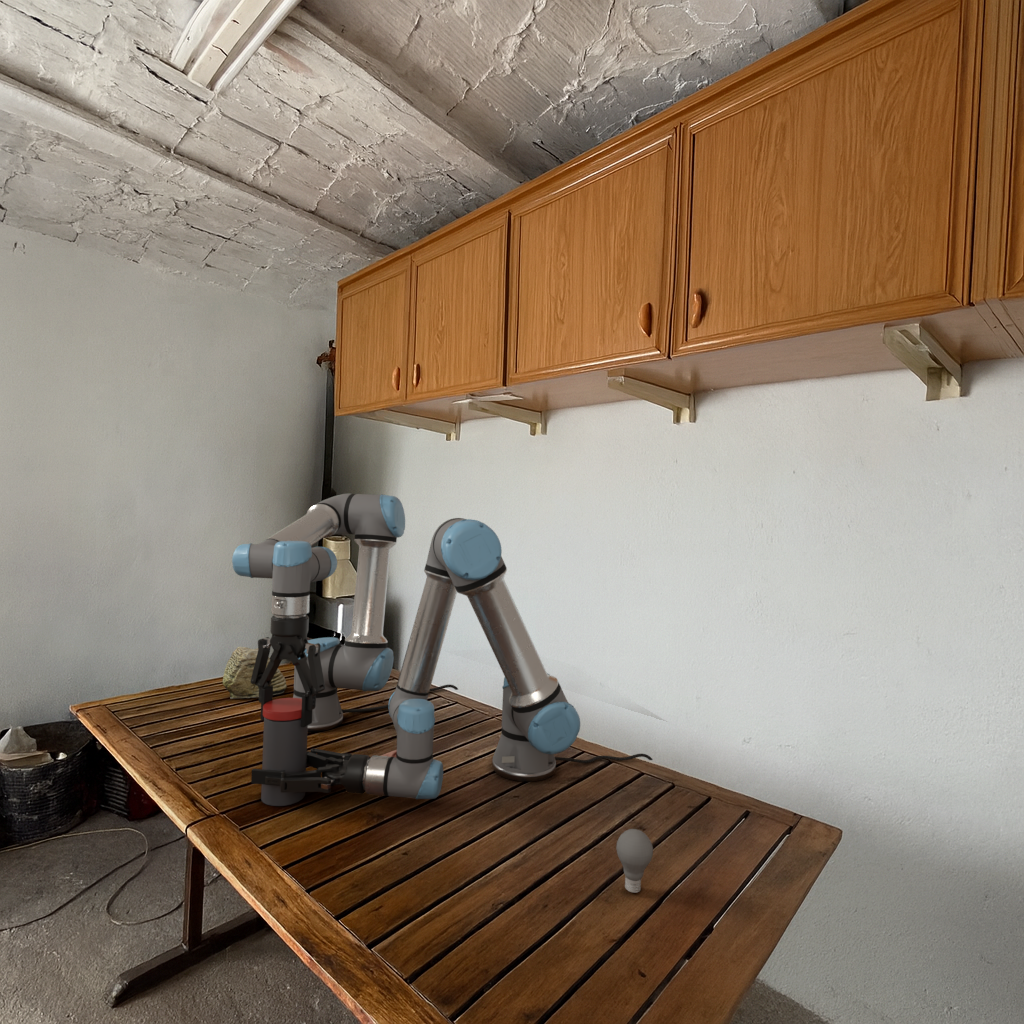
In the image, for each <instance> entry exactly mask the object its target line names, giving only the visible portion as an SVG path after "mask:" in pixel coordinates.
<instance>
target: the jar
mask: <svg viewBox="0 0 1024 1024" xmlns="http://www.w3.org/2000/svg"><path fill="white" fill-rule="evenodd" d="M308 733H309V732H308V725H307V726H306V727H301V718H299V719H295V720H287V721H276V720H270V719H266V718H265V717H264V720H263V734H262V736H263V737H262V762H261V763H262V764H261V765H262V766H261V769H264V770H276V771H283V770H285V774H286V773H295V772H304V771H307V767H306V759H307V752H308ZM260 789H261V792H260V793H261V794H260V795H261V796H260V800H261V802H262V803H263V804H265V805H267V806H272V807H284V806H285V807H286V806H290V805H293V804H296V803H298V802H300V801H302V800H303V799H304V798H305V796H306V792H280V786H277V785H265V784H261V788H260Z"/></svg>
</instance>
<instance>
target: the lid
mask: <svg viewBox="0 0 1024 1024" xmlns="http://www.w3.org/2000/svg"><path fill="white" fill-rule="evenodd" d="M301 712H302V699H300V698H293V697H283V698H276V699H273V700H272V701H269V702H267V703H265V704H264V705H263V716H264V717H265V718H266V719H270V720H276V721H287V720H295V719H299V718H301Z"/></svg>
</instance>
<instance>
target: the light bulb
mask: <svg viewBox="0 0 1024 1024" xmlns="http://www.w3.org/2000/svg"><path fill="white" fill-rule="evenodd" d="M615 849H616V854H617V857H618V859H619V861H620V863H621V865H622V867H623V873H624V874H623V875H624V876H625V878H624V888H625V890H627V891H628V892H630V893H634V894H635V893H639V892H640V891H641V889H642V887H641V886H642V879H643V877H644V875H645V871H646V868H647V867H648V866H649V864H650V863H651V861H652V859H653V855H654V847H653V843H652V841H651V838H649V836H648V835H647V834H646V833H645V832H643V831H642V830H641V829H636V828H629V829H627V830H625V831H623V832H622V833H621V834H620V835H619V837H618V839H617V841H616V847H615Z"/></svg>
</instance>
